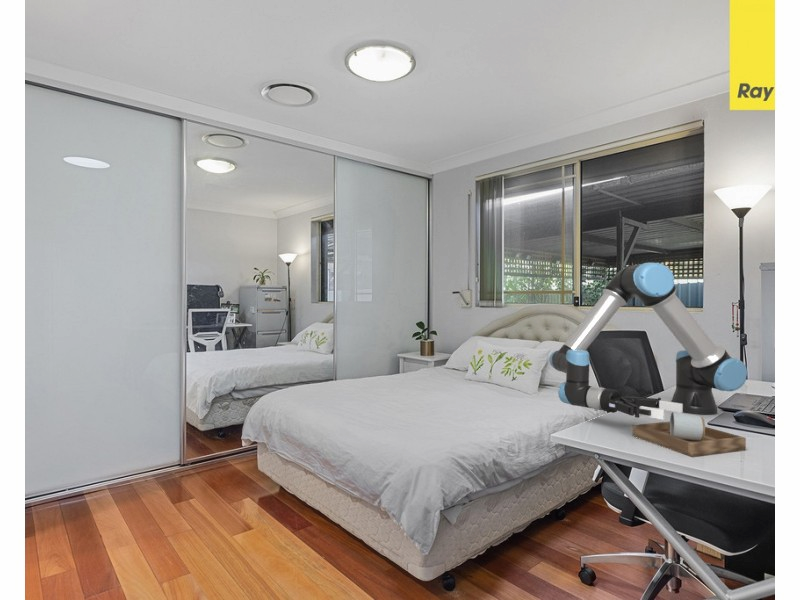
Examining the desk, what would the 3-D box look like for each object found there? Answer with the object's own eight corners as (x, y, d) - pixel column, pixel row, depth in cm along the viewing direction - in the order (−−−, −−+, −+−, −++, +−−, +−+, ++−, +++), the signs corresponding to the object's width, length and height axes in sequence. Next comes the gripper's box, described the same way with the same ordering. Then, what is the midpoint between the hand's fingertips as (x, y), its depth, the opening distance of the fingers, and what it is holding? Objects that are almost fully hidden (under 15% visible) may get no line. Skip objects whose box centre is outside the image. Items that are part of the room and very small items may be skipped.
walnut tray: (681, 431, 149) (681, 420, 149) (745, 450, 130) (745, 437, 130) (632, 436, 143) (632, 424, 143) (692, 457, 124) (692, 444, 124)
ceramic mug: (706, 444, 132) (706, 417, 132) (673, 441, 135) (673, 414, 135) (697, 435, 142) (697, 409, 142) (667, 432, 145) (667, 407, 145)
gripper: (621, 405, 163) (689, 417, 147) (584, 416, 148) (655, 431, 131) (622, 384, 163) (689, 394, 147) (584, 392, 148) (655, 404, 131)
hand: (673, 411), depth 139 cm, fingers open, 13 cm apart
